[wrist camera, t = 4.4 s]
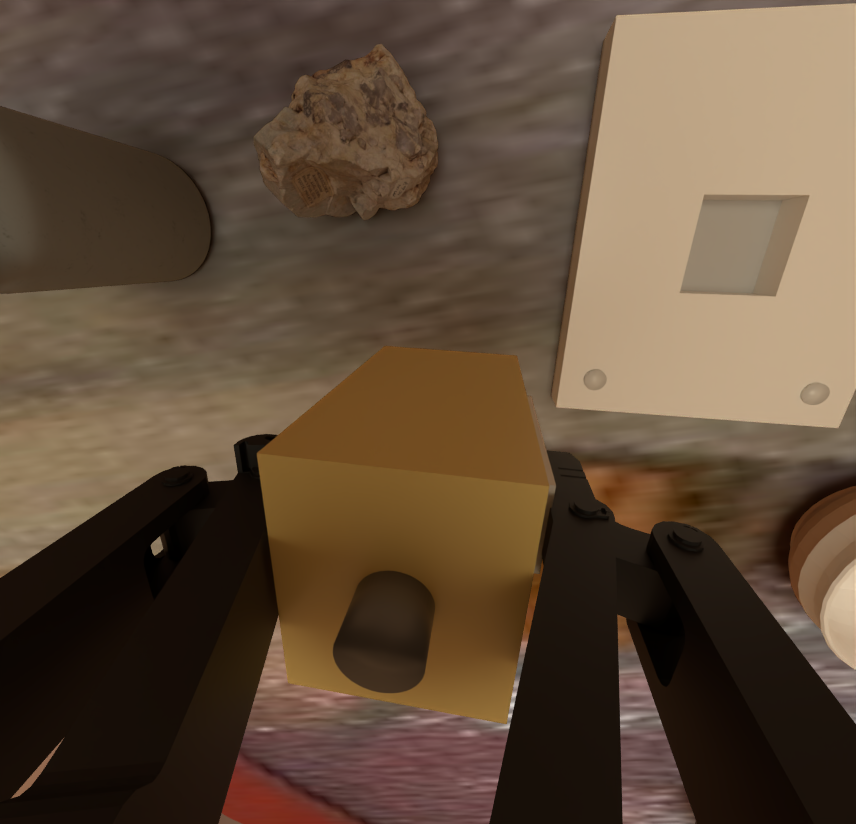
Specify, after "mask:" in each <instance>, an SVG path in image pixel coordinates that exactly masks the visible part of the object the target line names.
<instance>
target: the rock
mask: <svg viewBox="0 0 856 824" xmlns="http://www.w3.org/2000/svg"><path fill="white" fill-rule="evenodd" d="M291 97H292V102H291V104H290V105H289V107H288V108H287V107H284V108H283V110H282V111H281V112H280V113H279V114H278V115H277V116H276V117H275V119H274V120H273V121H272V122H269V123H267V124H266V125H265V126H264V127H263V128H262V129H261V130H260V131H259V132H258V133H257V134H256V135H255V136H254V146H255V148H256V151H257V152H258V160H259V161H260V172H261V174H262V177H263V182H264V184H265V185H266V187H267V188H268V189H269V190H270V191H271V192H272V193H273V194H274V195H275V196H276V197H277V198H278V199H279V200H280V201H281V202H282V203H283V204H284V205H285V206H286V207H288V208H289V209H290V210H291V211H292V212H293V213H294V214H295V215H296V216H298V217H315V218H316V217H319V216H322V215H324V214H326V215H330V216H334V217H346V216H349V215H351V214H353V213H354V212H356V211H357V212H358V213H359V215H360V216H361V218H362V219H363V220H368V219H370V218H371V217H372V216H374V215H375V214H376V212H377V211H378V209H379V208H380V207H381V208H387V209H388V210H397V209H399V208H409V207H412V206H414V205H415V204H417V203H418V202H419V200H420V197H421V195H422V194H423V193H424V191H426V188H427V186H428V184H429V182H430V175H431V174H432V173H433V172H434V169H435V168H436V167H437V164H438V153H437V150H438V140H437V135H436V130H435V127H434V125H433V122H432V121H431V120H429V119H428V118H427V117H426V110H425V109H424V107H423V106H422V104H421V103H420V102H419V101H417V99H416V95H415V91H414V90H413V89H412V87H411V86H410V84H409V82H408V80H407V78H406V76H405V74H404V72H403V70H402V69H401V67H400V66H399V65H398V63H397V62H396V61H395V59H394V58H393V56H392V55H391V53H390V52H389V51H388V50H387V49H386V48H385V47H384V46H383V45H382V44H379V45H376V46H375V47H374V49H373V50H372V51H371V52H370V53H369V54H368V55H367V56H365V57H361V58H357V59H355V60H344V61H343V62H341V63H340V64H338V65H336V66H335V67H333V68H331V69H328V70H319V71H318V72H316V73H315V74H314V75H313V76H312V77H311V76H309V75H304V76H301V77H300V78H299V80H298V81H297V83H296V84H295V90H294V92H293V94H292V96H291Z"/></svg>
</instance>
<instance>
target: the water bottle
mask: <svg viewBox="0 0 856 824" xmlns="http://www.w3.org/2000/svg"><path fill="white" fill-rule="evenodd" d="M210 240H211V226H210V219H209V214H208V211H207V208H206V205H205V202H204V200H203V198H202V196H201V194H200V192H199V190H198V189H197V187H196V186H195V185H194V183H193V182H192V180H191V179H190V178H189V177H188V176H187V175H186V174H185V172H184V171H183V170H182V169H180V168H179V167H178V166H176V165H175V164H174V163H172V162H171V161H170V160H168V159H166V158H164V157H162V156H160V155H158V154H155V153H152V152H149V151H145V150H142V149H139V148H135V147H132V146H129V145H126V144H122V143H119V142H116V141H113V140H109V139H106V138H103V137H100V136H96V135H93V134H90V133H87V132H83V131H80V130H77V129H74V128H70V127H67V126H64V125H60V124H57V123H54V122H51V121H47V120H44V119H41V118H38V117H34V116H31V115H28V114H25V113H21V112H18V111H15V110H12V109H8V108H5V107H2V106H0V294H10V293H23V292H36V291H50V290H63V289H76V288H89V287H102V286H115V285H128V284H141V283H155V282H168V281H175V280H180V279H183V278H185V277H187V276H189V275H191V274H192V273H194V272H195V271H196V270H197V269H198V268H199V267H200V266H201V264H202V263H203V261H204V260H205V257H206V255H207V252H208V250H209V245H210Z"/></svg>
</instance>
